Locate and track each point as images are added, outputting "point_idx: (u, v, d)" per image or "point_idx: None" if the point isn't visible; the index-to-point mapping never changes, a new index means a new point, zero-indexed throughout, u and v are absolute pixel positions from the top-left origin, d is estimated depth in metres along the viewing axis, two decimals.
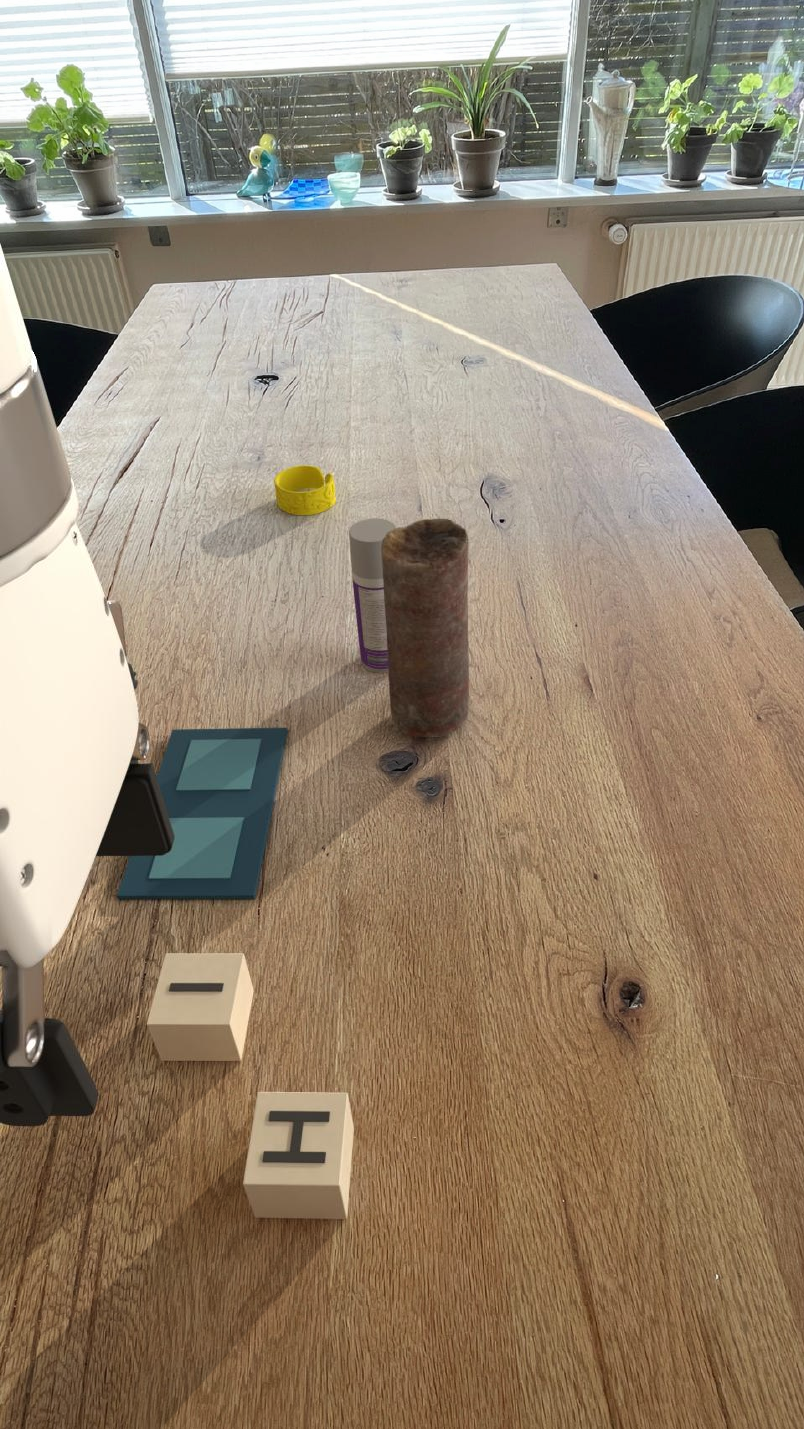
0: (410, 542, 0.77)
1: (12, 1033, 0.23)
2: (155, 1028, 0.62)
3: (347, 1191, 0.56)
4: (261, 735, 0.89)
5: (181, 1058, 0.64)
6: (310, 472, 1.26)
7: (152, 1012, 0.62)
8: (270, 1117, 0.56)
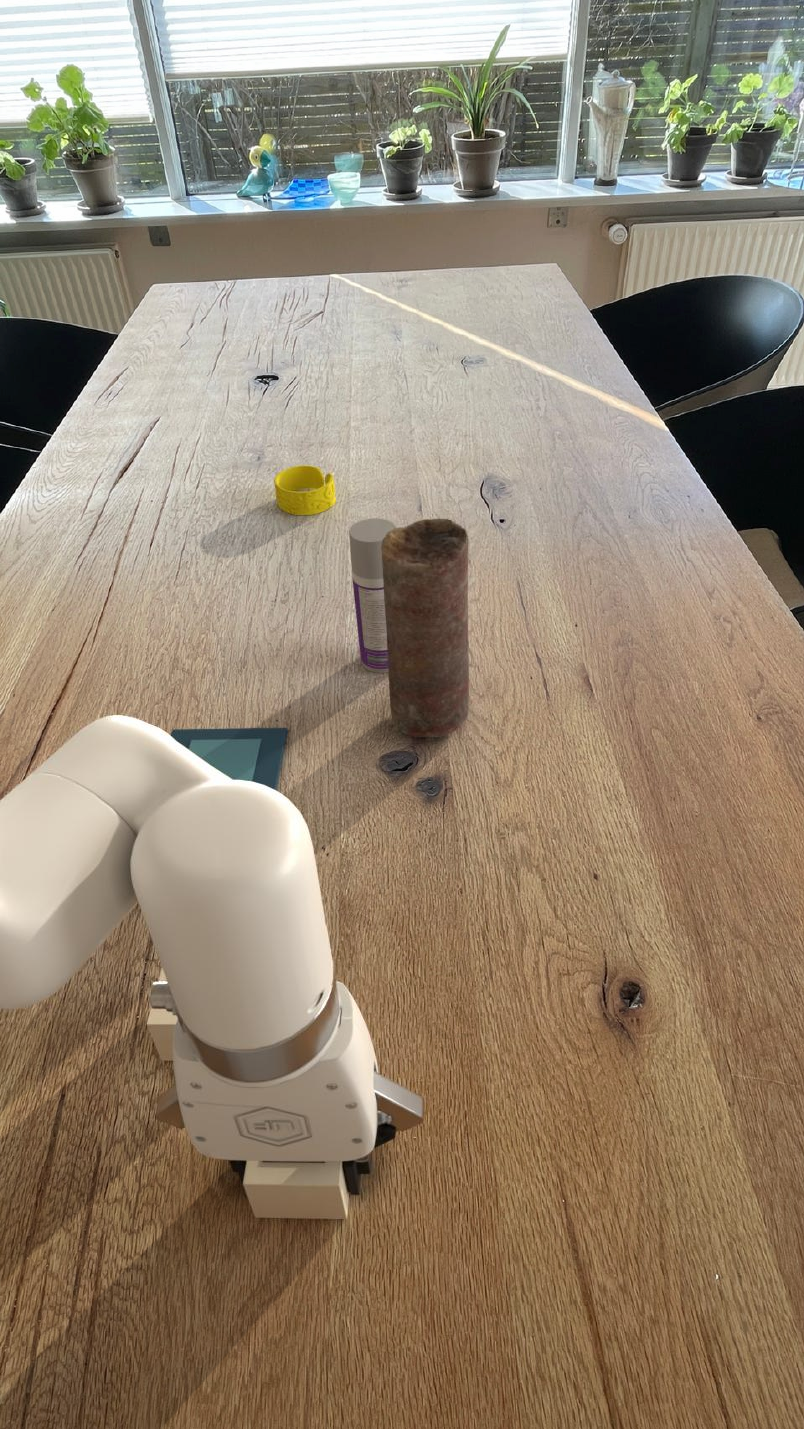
0: (410, 542, 0.77)
1: None
2: (155, 1028, 0.62)
3: (347, 1191, 0.56)
4: (261, 735, 0.89)
5: None
6: (310, 472, 1.26)
7: (152, 1012, 0.62)
8: None
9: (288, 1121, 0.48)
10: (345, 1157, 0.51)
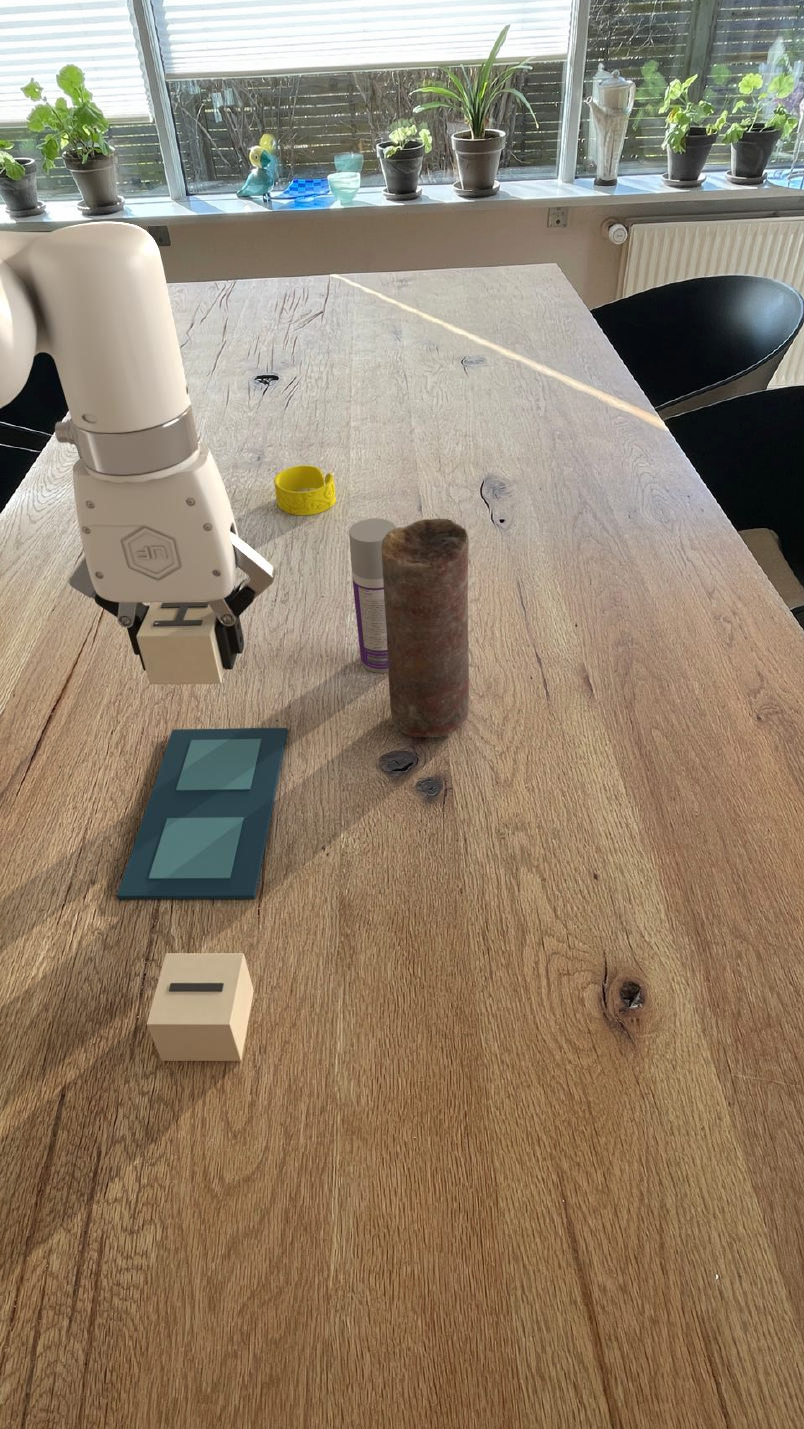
0: (410, 542, 0.77)
1: None
2: (155, 1028, 0.62)
3: (222, 665, 0.72)
4: (261, 735, 0.89)
5: (181, 1058, 0.64)
6: (310, 472, 1.26)
7: (152, 1012, 0.62)
8: (162, 605, 0.72)
9: (162, 546, 0.64)
10: (210, 594, 0.66)
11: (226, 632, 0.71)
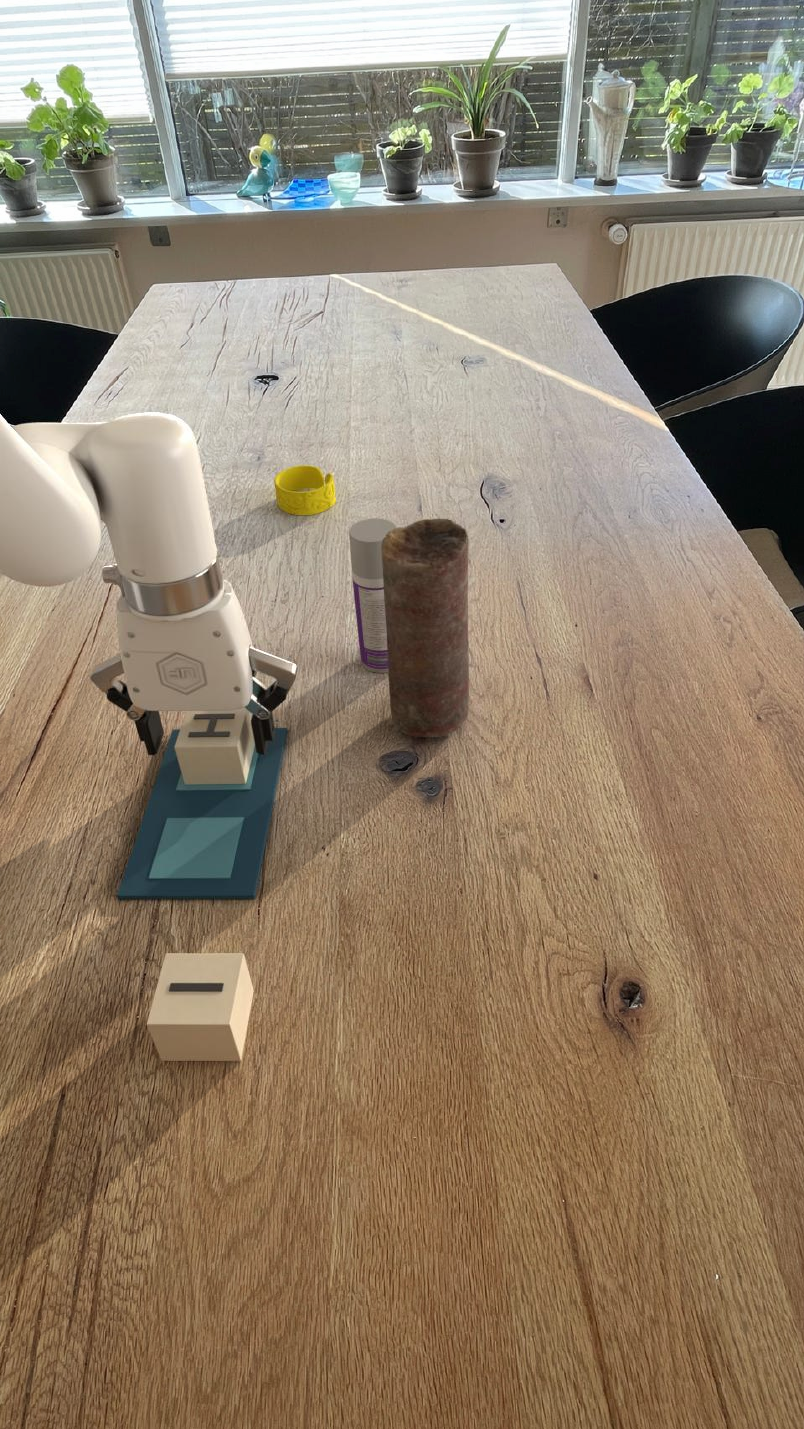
0: (410, 542, 0.77)
1: None
2: (155, 1028, 0.62)
3: (246, 767, 0.84)
4: None
5: (181, 1058, 0.64)
6: (310, 472, 1.26)
7: (152, 1012, 0.62)
8: (195, 717, 0.84)
9: (191, 668, 0.75)
10: (230, 706, 0.78)
11: (261, 724, 0.81)
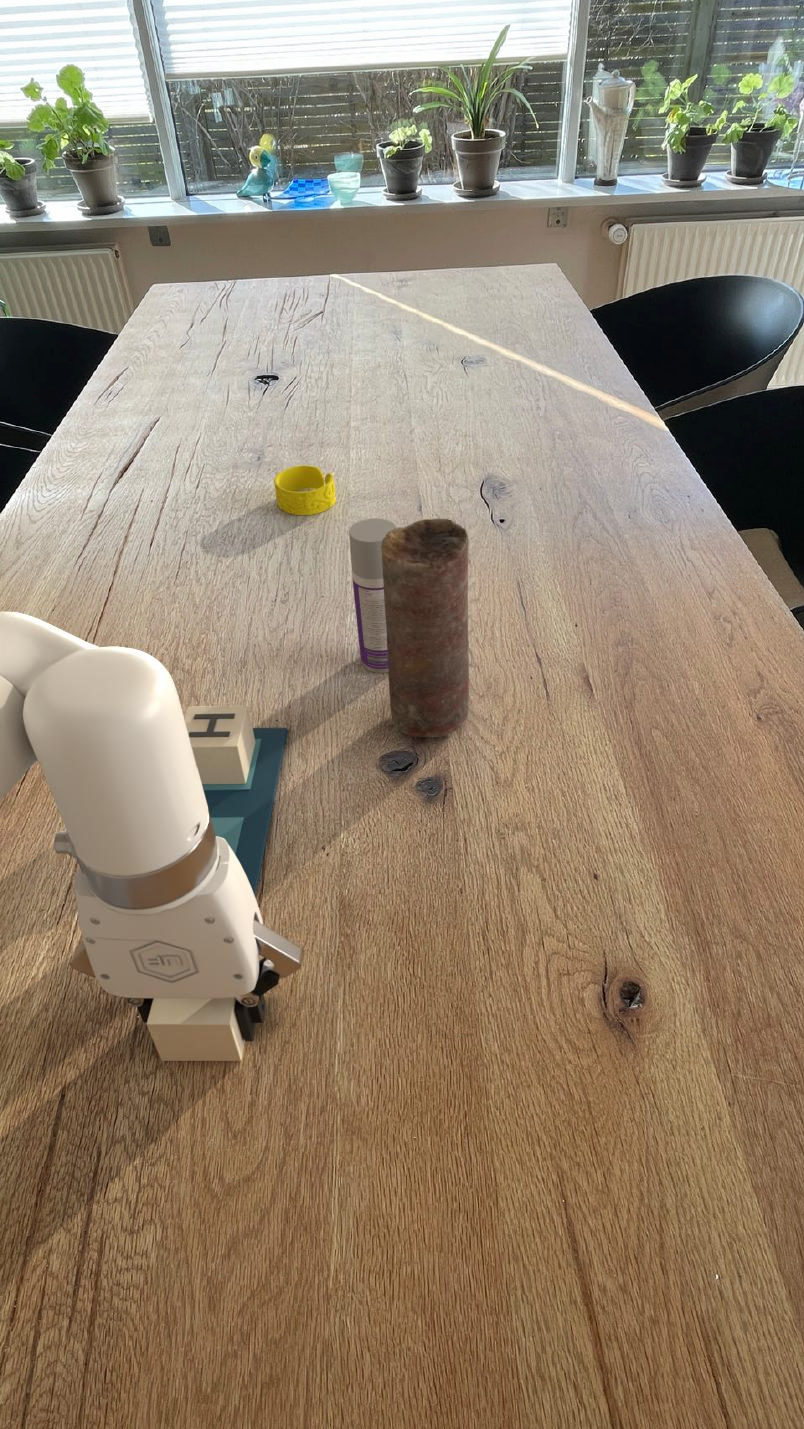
0: (410, 542, 0.77)
1: None
2: (155, 1028, 0.62)
3: (246, 767, 0.84)
4: (261, 735, 0.89)
5: (181, 1058, 0.64)
6: (310, 472, 1.26)
7: (152, 1012, 0.62)
8: (195, 717, 0.84)
9: (176, 956, 0.56)
10: (230, 993, 0.59)
11: (247, 1008, 0.63)
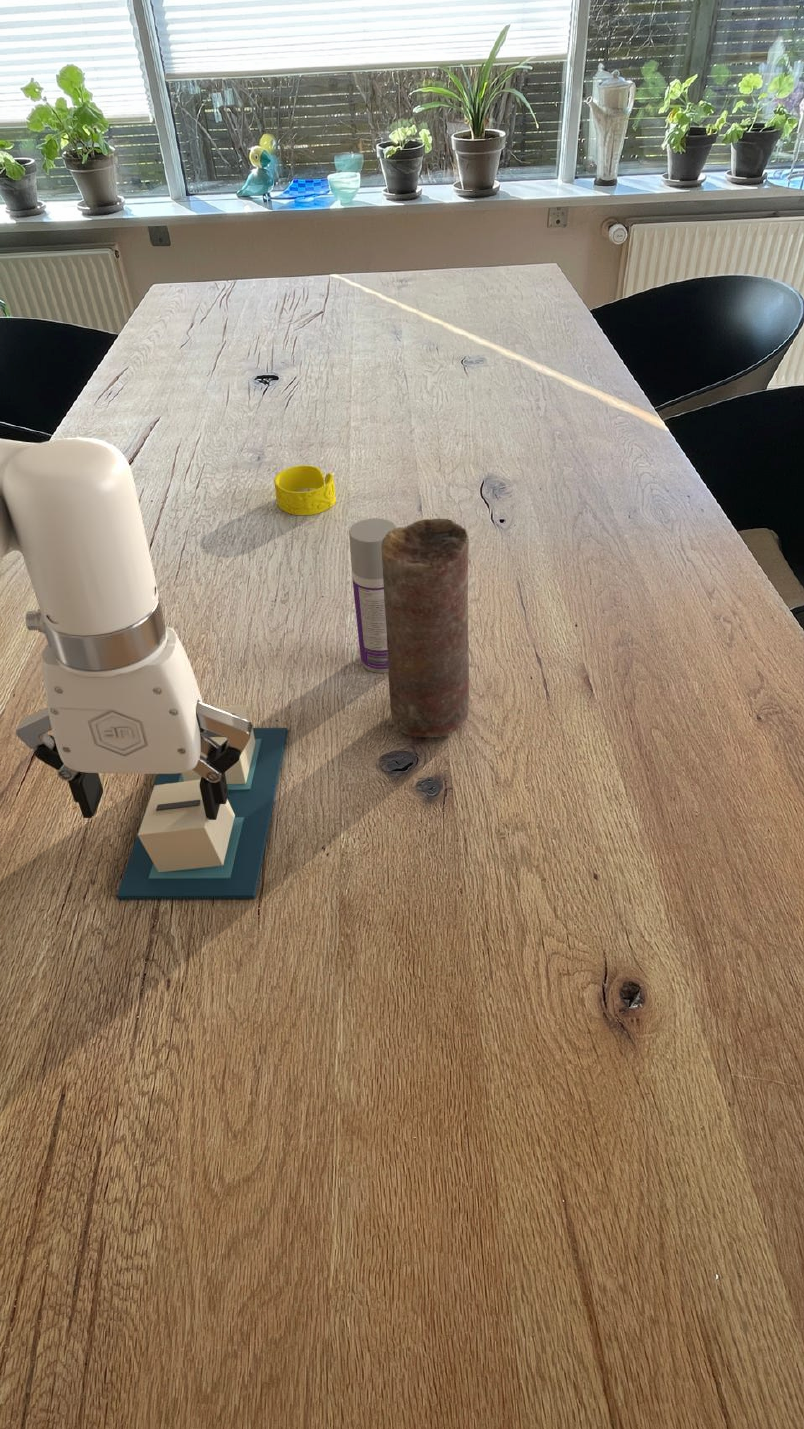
0: (410, 542, 0.77)
1: None
2: (145, 838, 0.74)
3: (246, 767, 0.84)
4: (261, 735, 0.89)
5: (174, 868, 0.76)
6: (310, 472, 1.26)
7: (142, 826, 0.74)
8: None
9: (128, 728, 0.66)
10: (175, 769, 0.68)
11: (211, 786, 0.72)
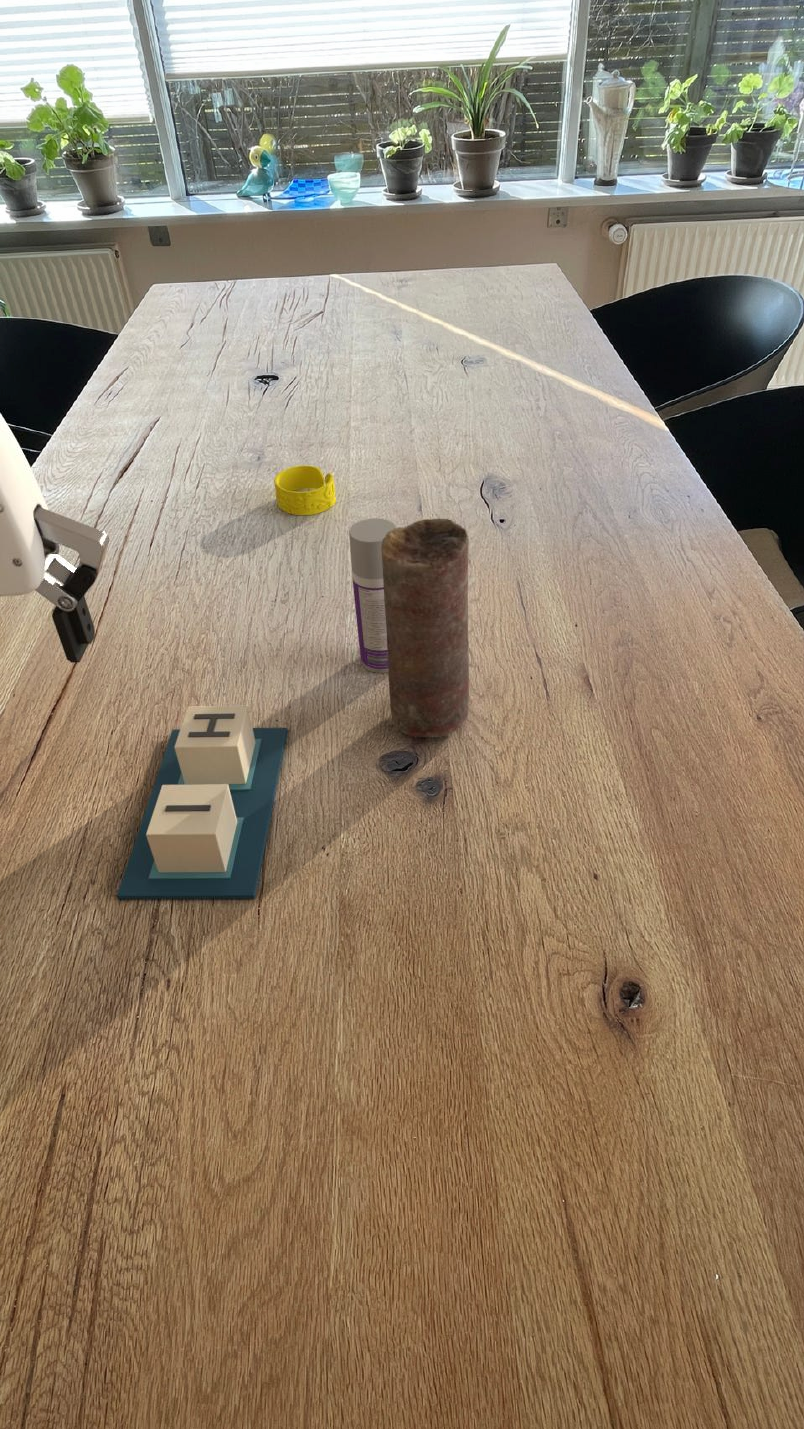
0: (410, 542, 0.77)
1: None
2: (153, 838, 0.74)
3: (246, 767, 0.84)
4: (261, 735, 0.89)
5: (175, 869, 0.76)
6: (310, 472, 1.26)
7: (151, 826, 0.74)
8: (195, 717, 0.84)
9: None
10: (13, 588, 0.57)
11: (68, 618, 0.60)
